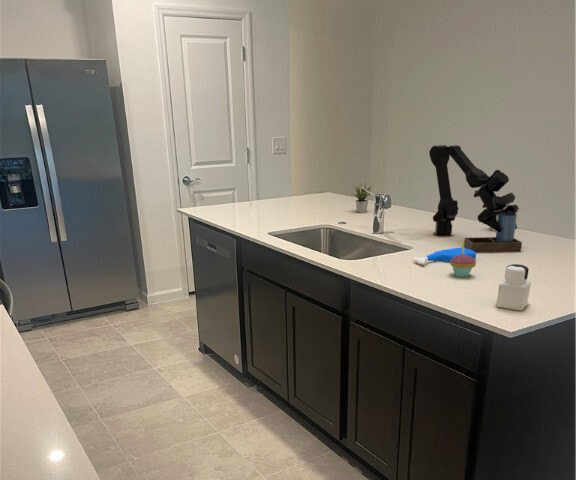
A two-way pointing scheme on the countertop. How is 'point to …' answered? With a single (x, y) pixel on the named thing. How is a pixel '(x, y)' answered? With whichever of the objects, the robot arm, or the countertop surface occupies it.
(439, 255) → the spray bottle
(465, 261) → the cupcake
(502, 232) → the tumbler
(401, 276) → the countertop surface
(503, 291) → the medicine bottle
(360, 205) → the house plant
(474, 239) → the wooden divided tray
